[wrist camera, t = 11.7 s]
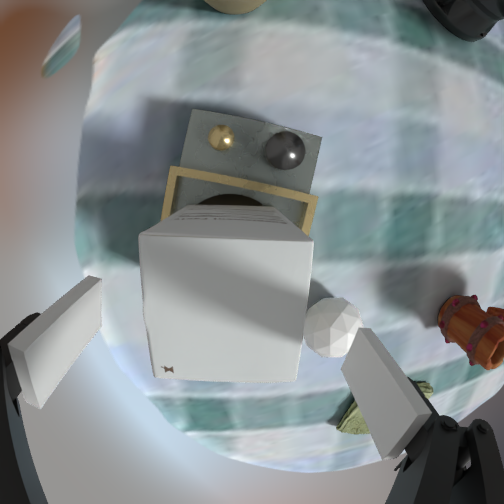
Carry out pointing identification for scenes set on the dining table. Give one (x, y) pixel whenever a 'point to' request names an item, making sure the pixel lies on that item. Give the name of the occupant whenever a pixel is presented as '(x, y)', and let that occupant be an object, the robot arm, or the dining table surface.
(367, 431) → the washcloth
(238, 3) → the plant pot
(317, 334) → the geometric ball
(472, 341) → the mug
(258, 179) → the grey and gold block
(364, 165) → the dining table surface
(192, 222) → the supplement box
